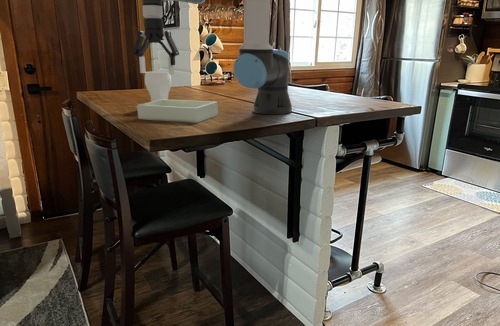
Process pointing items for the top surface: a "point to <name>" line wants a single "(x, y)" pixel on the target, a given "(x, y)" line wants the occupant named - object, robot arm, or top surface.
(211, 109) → the white shallow tray
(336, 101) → the top surface
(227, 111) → the top surface
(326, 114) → the top surface
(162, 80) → the cup
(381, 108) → the top surface
